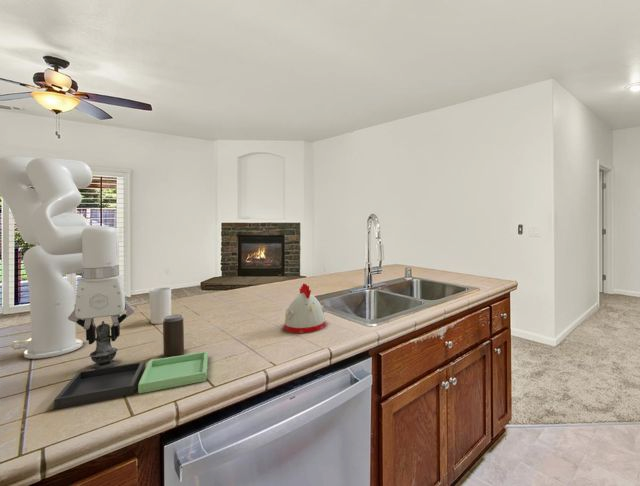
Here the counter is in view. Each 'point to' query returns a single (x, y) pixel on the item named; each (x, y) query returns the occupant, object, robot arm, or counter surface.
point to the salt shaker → (103, 348)
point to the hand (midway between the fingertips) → (103, 340)
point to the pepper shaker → (173, 335)
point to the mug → (160, 304)
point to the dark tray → (100, 384)
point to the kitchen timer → (304, 313)
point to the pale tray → (174, 372)
